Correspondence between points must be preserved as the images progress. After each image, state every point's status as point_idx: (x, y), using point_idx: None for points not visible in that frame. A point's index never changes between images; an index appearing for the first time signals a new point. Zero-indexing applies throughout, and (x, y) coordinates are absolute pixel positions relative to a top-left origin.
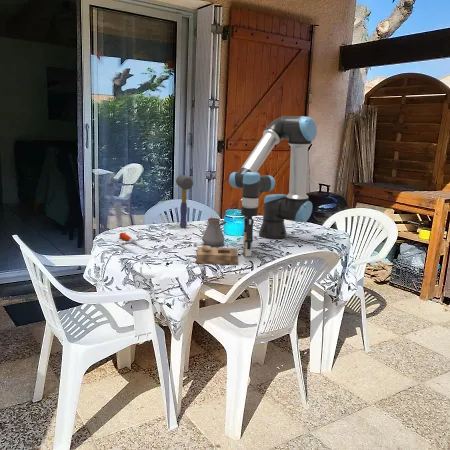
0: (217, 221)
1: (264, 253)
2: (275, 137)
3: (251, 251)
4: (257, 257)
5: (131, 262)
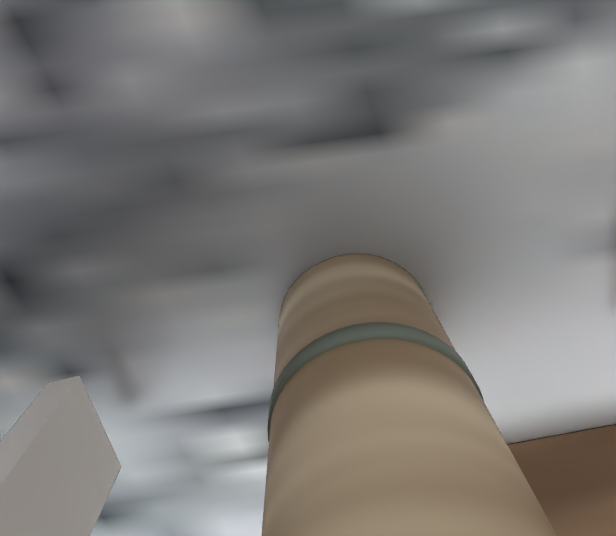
0: None
1: (21, 17)
2: None
3: (374, 294)
4: (384, 130)
5: None
